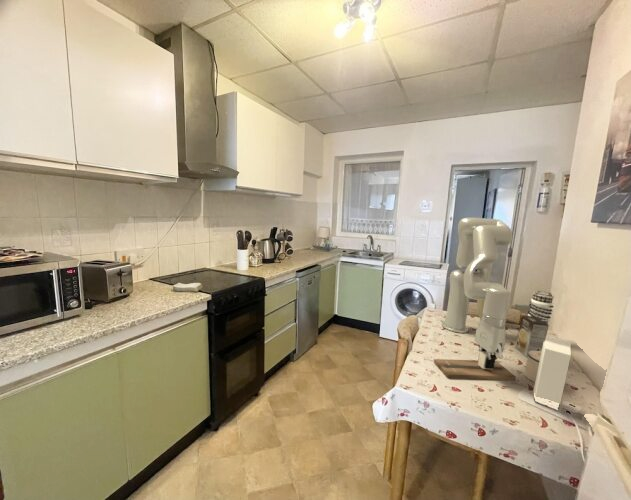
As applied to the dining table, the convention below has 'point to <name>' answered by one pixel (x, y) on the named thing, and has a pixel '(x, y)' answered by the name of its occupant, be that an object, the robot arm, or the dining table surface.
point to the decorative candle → (541, 305)
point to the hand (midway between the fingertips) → (485, 364)
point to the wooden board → (472, 370)
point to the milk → (552, 369)
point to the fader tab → (483, 359)
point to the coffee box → (531, 334)
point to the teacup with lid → (532, 365)
